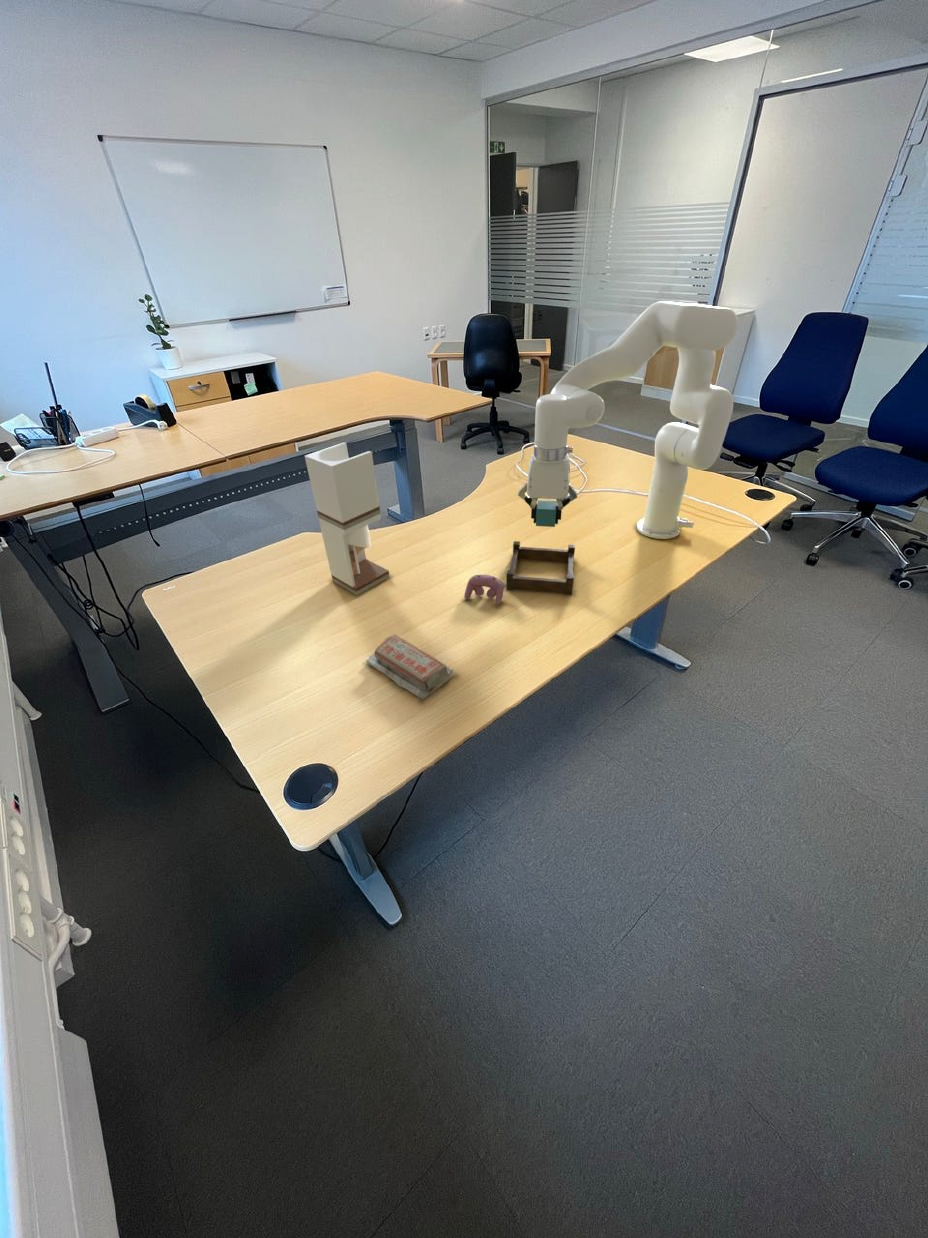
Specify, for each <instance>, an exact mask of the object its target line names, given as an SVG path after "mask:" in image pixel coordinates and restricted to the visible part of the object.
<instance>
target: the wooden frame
mask: <svg viewBox="0 0 928 1238" xmlns="http://www.w3.org/2000/svg"><path fill="white" fill-rule="evenodd" d="M575 552H576V545H575V544H568V547H567V549H562V548H561V549H559V548H546V547H544V548H543V547H531V546H530V547H529V546H521V541H520V540H519V541H516V540H514V541H513V544H512V557H511V562H510V566H509V569H507V570H506V574H505V575H506V577H505V578H506V579H505V580H506V581H505V582H506V583H505V590H508V591H513V590H515V591H525V592H526V591H527V592H540V593H551V594H562V595H563V594H564V595H571V596H572V595H573V588H574V580H575V574H573V569H574V560H575ZM519 560H520V561H521V560H522V561H534V562H535V561H536V562H537V561H538V562H551V563H564V564H565V563H566V564H567V568H566V569H567V571H566V578H565V579H560V578H559V579H558V578H545V577H543V578H542V577H533V576H520V575H519V576H517V575H516V571H517V567H518V563H519V562H518V561H519Z"/></svg>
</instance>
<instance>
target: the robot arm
mask: <svg viewBox="0 0 928 1238" xmlns="http://www.w3.org/2000/svg"><path fill="white" fill-rule="evenodd" d="M738 327H739V319H738V316H737V314H736V312H735V311H734V310H733V309H731V308H728V307H724V306H723V307H722V306H713V305H707V304H702V303H701V304H699V303H690V302H689V303H687V302H686V303H685V302H676V301H669V300H667V301H666V300H660V301H656V302H653V303H652V304H650V305H648V307H647V308H646V309H645V310H644V311H643V312H642V313H641V314H640V315H639V316H638V317H637V318H636V319H635V320H634V321H633V322H632V323H631V324H630V326H629V327H628V328H627V329H625V331H624V332H622V334H621V335H620V336H619V337H618V338H617V339H616V340H615V341H614V342H613V343H612V344H611V345H610V346H608V347H607V348H605V349H601V350H600V351H598V352H596V353H594V354H592V355H590V356H588V357H587V358H585V359H583V360H581V361H579V362H578V363H576V364H575V365H573V366H572V367H571V368H570V369H569V370H568V371H567V372H566V373H565V374H564V375H563V376H562V377H561V378H560V379H559V381H557V383H556V384H555V385H554V386H553V388H552V389H551V392H550V393H547V394H543V395H540V396H539V398H537V400H536V402H535V417H534V418H535V419H534V420H535V421H534V444H533V453H532V454H531V455H530V459H529V464H528V470H527V480H526V481H527V482H525V484H524V485H523V486H522V487H521V488H520V489H519V490H518V493H517V496H519V498H521V499H522V500H524V502H525V503H526V504H527V505H528V506H529V508H530V509H531V512H530V519H531V520H532V519H533V524H536V511H537V503H538V501H539V499H542V500H543V499H544V500H555V501H557V506H556V519H555V525H559V521H561V520H562V513H563V512H562V511H563V509H564V508H565V507H566V506H567V505H569V504H570V503H571V502H573V501H575V500H576V499H577V498H578V492H576V490H575V489H574V487H573V486H572V485H571V483H570V479H571V477H570V476H571V462H570V455H568V454H573V452H574V451H573V450H574V446H569V445H568V435H569V434H568V433H569V429H576V428H578V429H579V428H589V427H592V426H594V425H596V424H597V423H598V422H600V420H602V417H603V416H604V413H605V408H606V406H605V405H606V404H605V401H604V399H603V398H602V397H601V396H600V395H598V394H597V393H595V392H594V391H590V390H591V388H593V387H596V386H598V385H601V384H603V383H607V382H613V381H619V380H623V379H627V378H631V377H634V376H635V375H637V373H638V372H639V371H641V369H642V368H643V367H644V366H645V365H646V364H647V363H648V362H649V361H650V360H651V358H653V356H655V355H656V354H657V353H658V351H660V349H661V348H663V347H670V348H675V349H677V352H678V359H679V360H678V365H677V372H676V375H675V380H674V384H673V385H674V386H673V389H672V393H671V396H670V402H669V411H670V413H671V415H672V416H674V417H675V418H677V419H679V420H682V421H685V422H689V423H692V424H695V425H697V426H698V427H695V426H691V425H689V424H685V423H682V422H675V421H674V422H669V423H666V424H665V425H663V426H662V427H661V428H660V429H659V430H658V432H657V434H656V436H655V440H654V464H653V470H652V475H651V480H650V485H649V490H648V494H647V495H648V496H647V500H646V505H645V509H644V515H643V518H641V519H640V520H638V522H637V524H636V529H637V532H639V533H640V534H642V535H643V536H646V537H648V538H651V539H657V540H669V539H674V538H676V537H677V536H679V535H680V533H681V529H682V528H686V529H693V528H694V525H695V524H694V521H691V520H690V521H689V519H688V518H686V517H685V518H684V517H683V518H681V517H680V516H679V515H680V514H679V513H680V511H681V506H682V502H683V499H684V494H685V490H686V487H687V482H688V478H689V468H691V469H693V470H697V471H705V470H707V469H709V468H710V467H711V468H712V466H713V465H714V464H715V463H716V461H717V460H718V457H719V455H720V452H721V450H722V448H723V444H724V442H725V437H726V435H727V432H728V428H729V424H730V421H731V419H732V415H733V410H734V397H733V394H732V393H731V392H730V391H729V390H728V389H727V388H724V387H721V386H719V385H718V386H717V385H713V384H712V379H713V376H714V371H715V366H716V359H717V358H716V357H717V355H716V351H720V350H722V349H724V348H726V347H727V346H728V345H729V344H730V343H731V342H732V341H733V340H734V338H735V336H736V334H737V332H738Z"/></svg>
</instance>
